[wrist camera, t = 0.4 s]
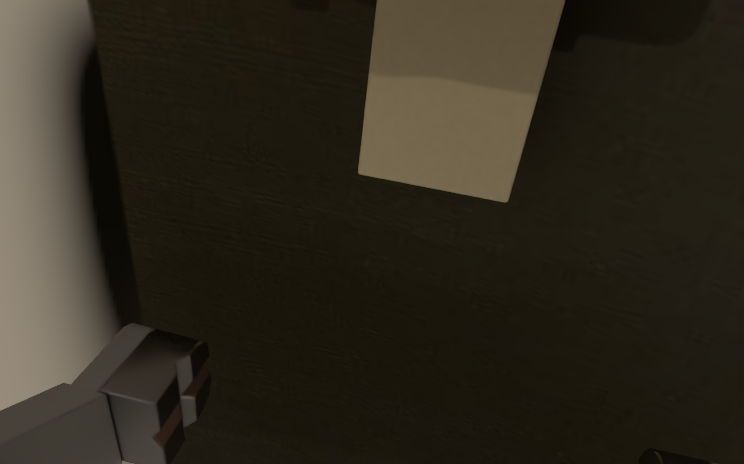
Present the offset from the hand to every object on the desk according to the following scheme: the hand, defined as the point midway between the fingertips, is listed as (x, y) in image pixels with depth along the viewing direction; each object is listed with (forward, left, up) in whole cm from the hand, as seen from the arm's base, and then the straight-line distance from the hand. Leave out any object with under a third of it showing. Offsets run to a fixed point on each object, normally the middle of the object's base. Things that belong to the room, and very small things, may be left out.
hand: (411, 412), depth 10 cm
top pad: (-4, -1, -14) cm, 15 cm away
